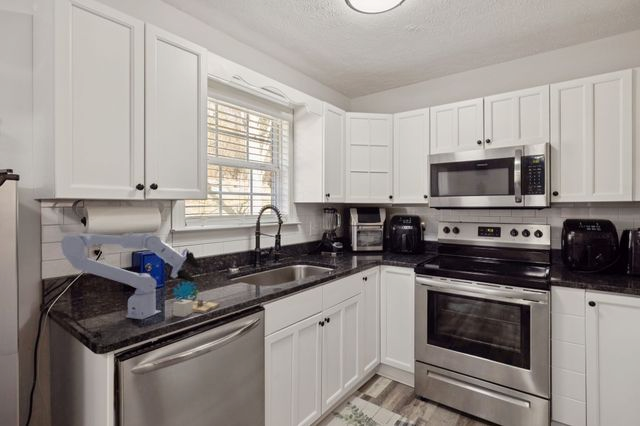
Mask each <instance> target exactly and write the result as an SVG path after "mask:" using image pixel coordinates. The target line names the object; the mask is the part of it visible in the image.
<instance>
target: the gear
mask: <svg viewBox="0 0 640 426" xmlns="http://www.w3.org/2000/svg"><path fill="white" fill-rule="evenodd" d="M181 284H182V285H181ZM181 284H180V283H178V284H176V286H177V287H174V289H173V291H174V292H173V294H172V295H173V296H175V299H176V300H182V299H184V300H189V298H190V299H191V298H193V297H195V298H197V297H198V296H197V295H198V294H199V290H198V289H197V285H195V283H194V282H189V281H187V280H186V282H185V281H182V282H181Z"/></svg>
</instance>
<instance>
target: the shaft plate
mask: <svg viewBox="0 0 640 426" xmlns="http://www.w3.org/2000/svg"><path fill="white" fill-rule="evenodd" d="M220 305H221V304H220V303H218V302H209V301H204V299H203V298H198V299H197V300H196V301H195V300H194V301H193V313H194V312H195V313H202V314H206V313H208V312H209V311H212V310H213V309H216V308H218V307H220Z"/></svg>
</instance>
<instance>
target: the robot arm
mask: <svg viewBox="0 0 640 426" xmlns="http://www.w3.org/2000/svg"><path fill="white" fill-rule="evenodd" d="M60 244H61V245H60V247H61V250H62V254H63V256H64V257H66V259H67V261H68V263H70V264H71V266H72V267H73V269H75V270H78V271H83V272H86V273H88V274H92V275H95V276H99V277H102V278H104V279H109V280H112V281H116V282H117V283H118V282H119V283H123V284H125V285H129V286H131V287H133V288H136V289H135V291H134V294H132V295H131V296H130V297H129V298H128V300H127V315H126V316H125V317H126V318H131V319H137V320H144V319H146V318H149V317H152V316H154V315H156V314H160V313H161V312H162V311H161V310H157V309H156V307H157V306H156V304H157V303H156V299H157V296H156V288H157V280H156V279H155V278H154V277H152V276H151V275H150V274H149V273H146V272H142V273H140V272H139V273H138V272H134V271H130V270H126V269H123V268H121V267H118V266H114V265H111V264H108V263H105V262H102V261H98V260H95V259H92V258H89V257H88V256H87V254H86V250H85V247H86V249H87V248H90V247H91V246H94V245H120V246H121V247H122V248H123V249H133V250H144V249H145V250H149V251H151V252H152V253H154V254H155V255H156V256H157V257H158V258H159V259H162V260H163V261H164V262H166V263H168V264H169V265H170V266H172V270H171V274H170V277H171V278H173V279H175V280H177V279H179V280H183V281H186V282H187V281H189V282H190V283H193V282H194V281H195V278H194V277H193V276H192V275H190V274H189V273H188V272H187V270H186V269H181V268H182V266H183V264H184V262H185V263H186V264H188V265H191V266H192V267H194V268H195V269H198V268H200V267H201V265H200V264H199V262H198V261H197V259H196V258H195V256H194V253H193V252H192V251H190V250H189V249H188V248H185V249H183V251H181V253H180V252H179V251H177V250H176V249H174V248H173V247H171V245H169V244H168V243H167V242H166V243H165V242H164V241H163V240H162V239H161V238H160V236H156V235H154V234H149V233H146V232H145V233H143V234H141V233H140V234H139V233H134V232H133V231H129V232H127V233H124V234H122V235H120V236H119V235H112V234H111V235H110V234H98V233H78V234H77V233H70V234H66V235H64V237H63V238H62V239H61V243H60Z"/></svg>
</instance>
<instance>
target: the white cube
mask: <svg viewBox="0 0 640 426" xmlns="http://www.w3.org/2000/svg"><path fill="white" fill-rule="evenodd" d="M193 302H194V301H193V299H192V300H190V299H188V300H185V298H183V299H182V300H180V299H178V300H177V301H174V302H173V316H175V317H183V318H185V317H186V316H189V315H192V314H193V313H194V312H193ZM191 313H192V314H191Z"/></svg>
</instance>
